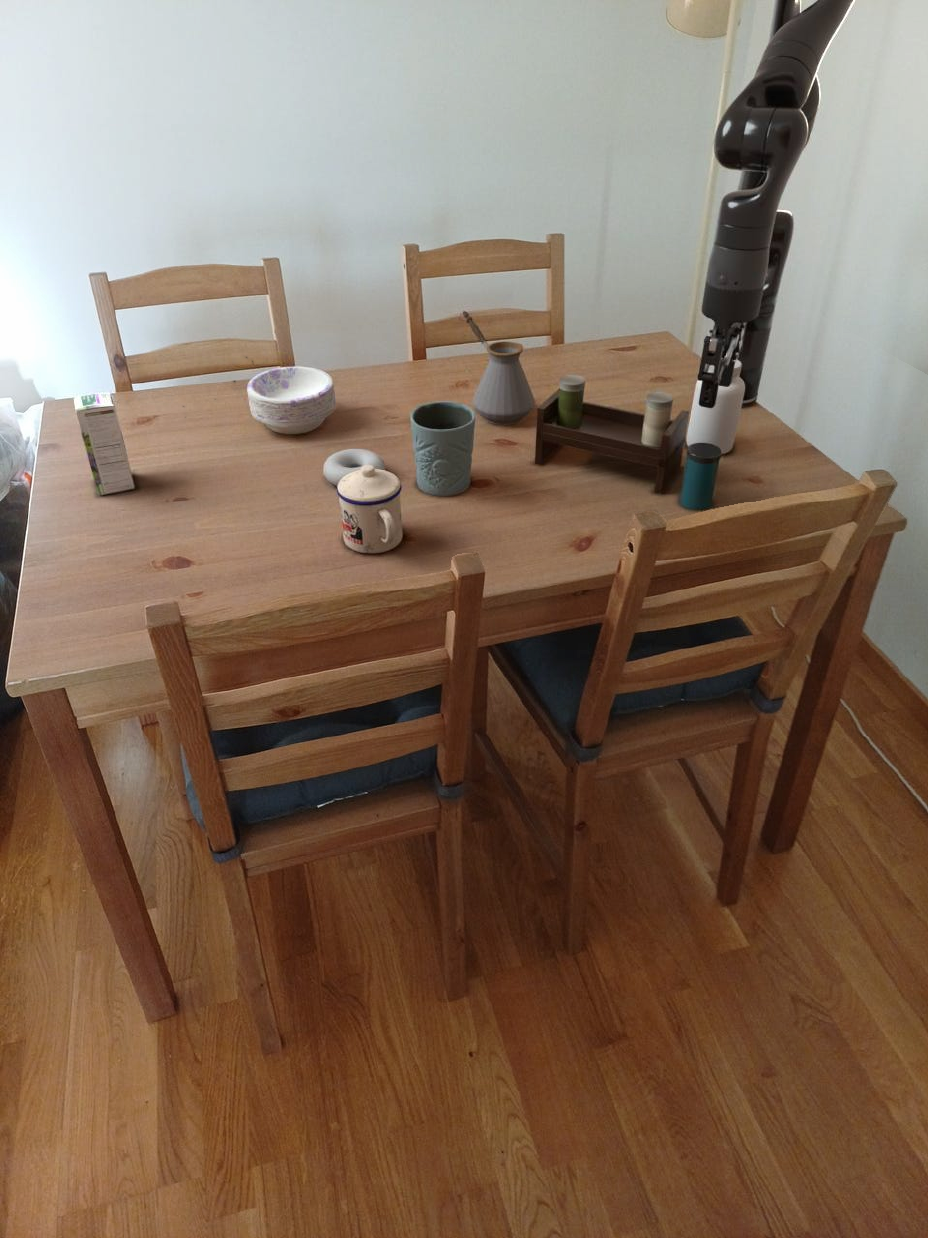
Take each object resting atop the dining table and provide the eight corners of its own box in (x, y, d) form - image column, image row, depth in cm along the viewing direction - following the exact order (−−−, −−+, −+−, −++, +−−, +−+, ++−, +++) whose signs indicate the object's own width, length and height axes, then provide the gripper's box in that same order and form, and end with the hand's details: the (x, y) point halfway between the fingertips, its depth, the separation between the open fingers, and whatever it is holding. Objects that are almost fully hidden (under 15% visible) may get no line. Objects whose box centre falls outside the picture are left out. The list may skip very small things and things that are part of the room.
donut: (370, 497, 139) (394, 467, 146) (368, 478, 137) (393, 449, 144) (313, 487, 141) (340, 459, 149) (311, 468, 139) (338, 440, 147)
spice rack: (558, 439, 154) (563, 364, 146) (680, 467, 146) (693, 389, 138) (534, 463, 147) (538, 386, 139) (661, 494, 139) (673, 413, 131)
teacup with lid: (332, 531, 131) (324, 461, 123) (389, 516, 134) (384, 447, 127) (364, 572, 122) (357, 499, 115) (423, 555, 126) (420, 482, 118)
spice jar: (684, 491, 139) (693, 439, 134) (715, 499, 138) (725, 446, 132) (674, 505, 136) (683, 453, 130) (706, 513, 134) (716, 460, 129)
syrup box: (95, 480, 144) (70, 396, 135) (132, 473, 145) (110, 390, 137) (98, 496, 139) (73, 410, 131) (137, 489, 141) (114, 404, 132)
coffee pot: (546, 421, 160) (550, 340, 151) (491, 434, 156) (492, 352, 147) (488, 380, 175) (489, 304, 166) (437, 392, 171) (435, 314, 162)
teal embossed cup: (445, 462, 148) (444, 395, 140) (488, 483, 142) (489, 414, 135) (400, 483, 142) (396, 414, 135) (443, 506, 136) (441, 435, 129)
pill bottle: (734, 458, 148) (751, 372, 139) (685, 454, 150) (699, 369, 140) (732, 437, 154) (748, 354, 145) (685, 433, 156) (699, 350, 147)
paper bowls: (314, 447, 152) (309, 404, 148) (237, 435, 156) (230, 393, 151) (351, 411, 164) (347, 370, 159) (278, 401, 168) (272, 361, 163)
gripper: (750, 298, 110) (727, 419, 120) (776, 268, 120) (753, 383, 130) (691, 289, 113) (674, 409, 122) (721, 261, 123) (703, 374, 132)
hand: (714, 395), depth 126 cm, fingers open, 8 cm apart
